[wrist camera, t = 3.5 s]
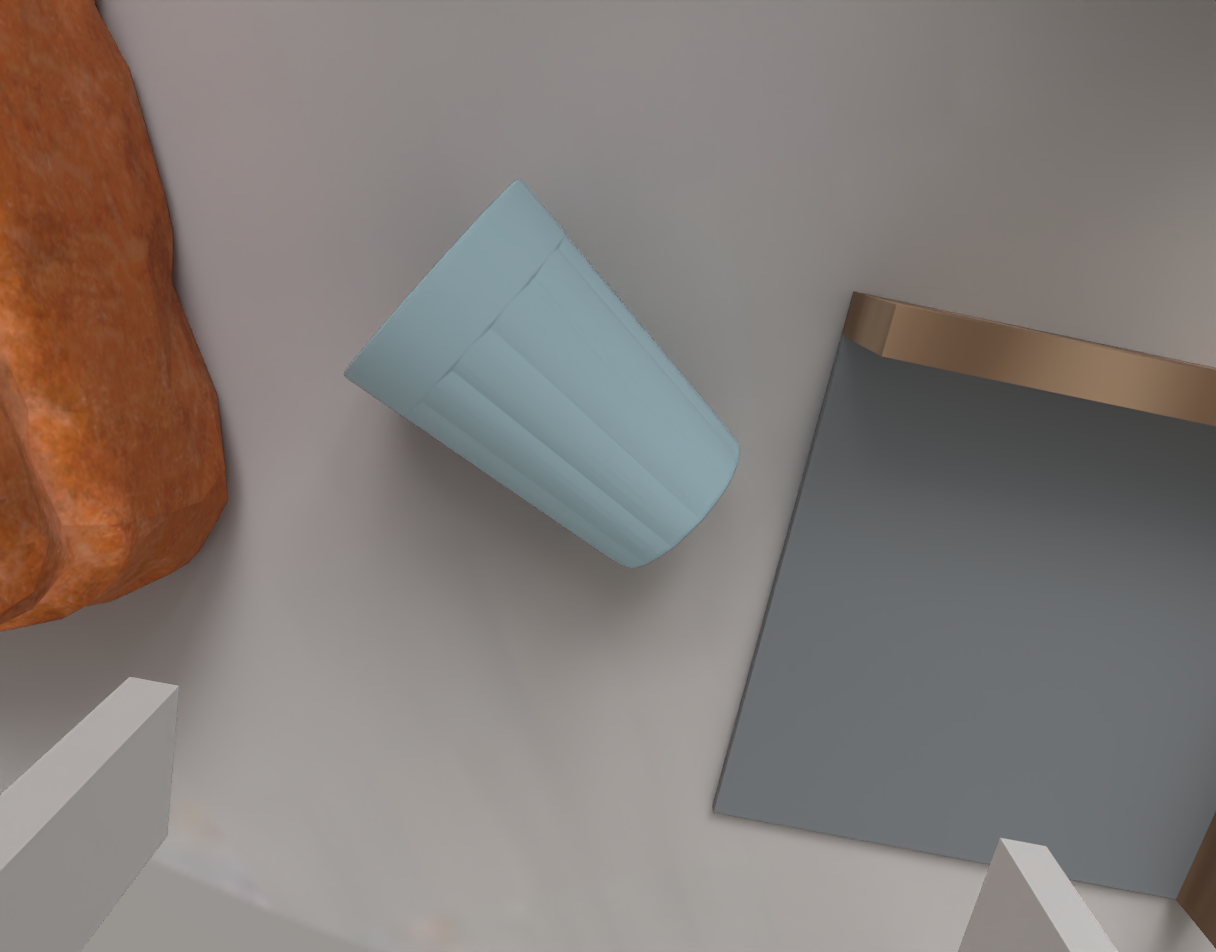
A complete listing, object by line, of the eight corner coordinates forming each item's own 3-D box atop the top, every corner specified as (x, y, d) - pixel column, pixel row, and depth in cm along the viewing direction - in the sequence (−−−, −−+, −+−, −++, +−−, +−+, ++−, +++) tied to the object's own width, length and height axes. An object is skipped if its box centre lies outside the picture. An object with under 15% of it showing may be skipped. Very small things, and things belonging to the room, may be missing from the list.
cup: (572, 575, 32) (341, 378, 30) (706, 414, 33) (494, 210, 31) (639, 622, 25) (341, 366, 22) (807, 414, 26) (541, 146, 23)
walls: (712, 806, 36) (726, 896, 31) (853, 291, 30) (896, 304, 26) (1205, 899, 37) (1292, 1000, 32) (1430, 413, 31) (1576, 448, 26)
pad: (712, 806, 36) (713, 812, 36) (841, 335, 31) (844, 337, 30) (1170, 892, 37) (1175, 899, 36) (1369, 446, 32) (1379, 448, 31)
